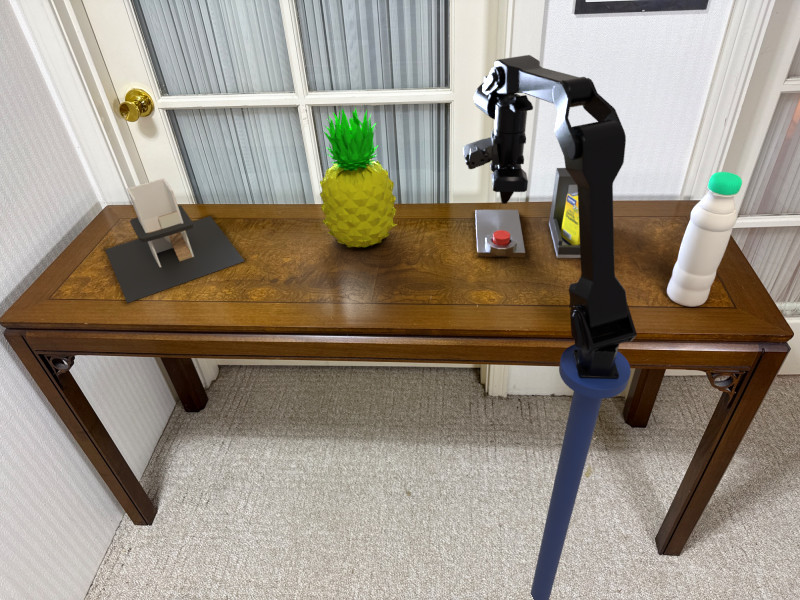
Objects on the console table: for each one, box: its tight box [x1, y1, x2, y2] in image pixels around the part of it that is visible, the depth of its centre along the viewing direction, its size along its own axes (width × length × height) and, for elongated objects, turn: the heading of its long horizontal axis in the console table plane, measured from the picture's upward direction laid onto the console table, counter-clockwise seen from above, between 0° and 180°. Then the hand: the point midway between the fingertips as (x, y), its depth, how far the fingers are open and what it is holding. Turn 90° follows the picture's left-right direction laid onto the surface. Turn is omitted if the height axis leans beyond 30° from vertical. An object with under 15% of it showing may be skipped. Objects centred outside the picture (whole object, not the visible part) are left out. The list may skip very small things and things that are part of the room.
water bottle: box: [666, 171, 743, 308], centre depth 100 cm, size 7×7×25 cm
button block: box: [474, 209, 526, 258], centre depth 126 cm, size 19×10×3 cm, turn 176°
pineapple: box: [319, 106, 397, 248], centre depth 120 cm, size 17×17×30 cm
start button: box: [493, 230, 510, 246], centre depth 120 cm, size 4×4×2 cm
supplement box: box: [561, 192, 580, 245], centre depth 119 cm, size 6×6×11 cm
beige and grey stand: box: [104, 177, 245, 304], centre depth 122 cm, size 25×24×16 cm
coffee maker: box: [548, 167, 581, 259], centre depth 120 cm, size 14×11×14 cm
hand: (504, 202), depth 115 cm, fingers closed
